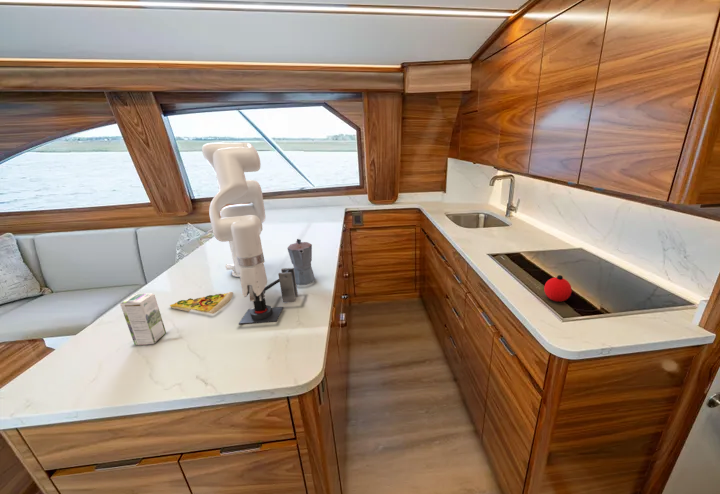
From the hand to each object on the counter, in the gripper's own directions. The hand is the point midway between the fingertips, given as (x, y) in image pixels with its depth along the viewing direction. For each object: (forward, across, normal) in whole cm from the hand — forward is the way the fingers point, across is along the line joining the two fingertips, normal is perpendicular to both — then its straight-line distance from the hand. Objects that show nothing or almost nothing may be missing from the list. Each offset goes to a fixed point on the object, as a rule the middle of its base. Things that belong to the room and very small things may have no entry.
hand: (261, 309), depth 100 cm
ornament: (+4, +2, +106) cm, 106 cm away
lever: (-3, -11, +2) cm, 12 cm away
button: (+2, 0, 0) cm, 2 cm away
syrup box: (+4, +7, -31) cm, 32 cm away
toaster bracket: (+4, -11, +7) cm, 14 cm away
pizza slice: (+4, -12, -26) cm, 29 cm away
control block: (+4, 0, 0) cm, 4 cm away
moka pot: (+4, -27, +9) cm, 29 cm away
